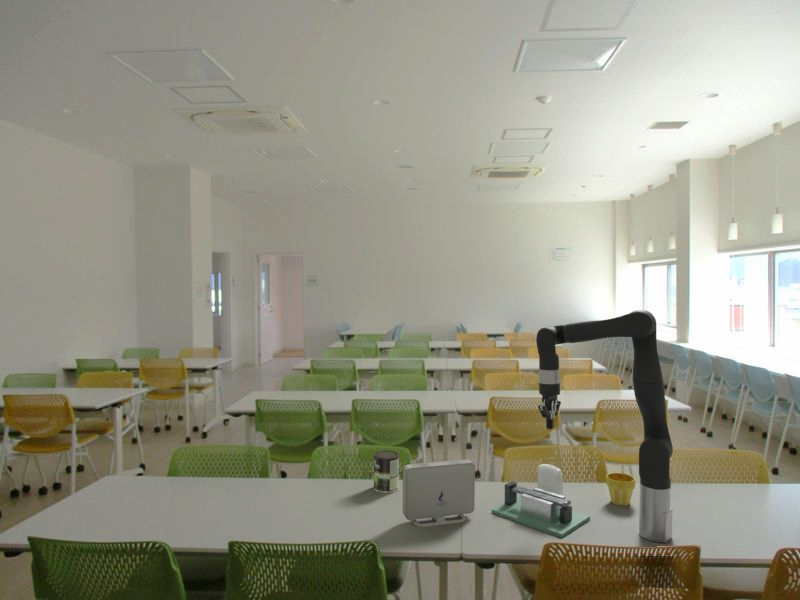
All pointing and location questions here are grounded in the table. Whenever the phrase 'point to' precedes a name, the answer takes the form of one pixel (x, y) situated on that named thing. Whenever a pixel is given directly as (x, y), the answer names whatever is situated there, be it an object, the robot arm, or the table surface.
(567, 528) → the mainboard
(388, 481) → the coffee can
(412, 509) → the network device
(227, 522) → the table surface
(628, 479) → the plant pot
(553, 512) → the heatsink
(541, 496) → the grey flat bar
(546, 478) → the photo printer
